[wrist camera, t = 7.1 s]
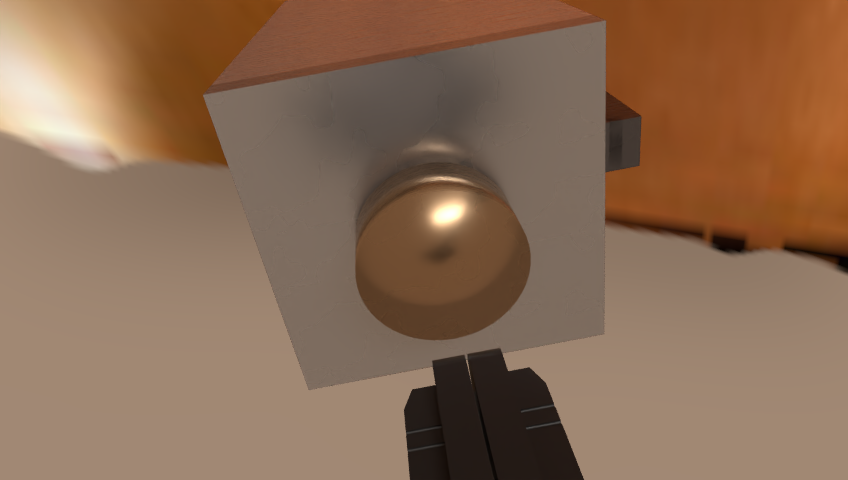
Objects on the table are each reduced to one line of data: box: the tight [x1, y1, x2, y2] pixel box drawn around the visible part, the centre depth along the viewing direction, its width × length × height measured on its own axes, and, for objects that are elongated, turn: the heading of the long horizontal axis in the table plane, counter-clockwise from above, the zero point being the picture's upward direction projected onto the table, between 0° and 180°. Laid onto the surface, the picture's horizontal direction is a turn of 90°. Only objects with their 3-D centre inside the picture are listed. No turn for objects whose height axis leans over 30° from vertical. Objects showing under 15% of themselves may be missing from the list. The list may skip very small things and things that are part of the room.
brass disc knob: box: [355, 162, 531, 340], centre depth 25 cm, size 8×8×20 cm
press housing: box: [203, 0, 641, 390], centre depth 26 cm, size 14×11×20 cm
